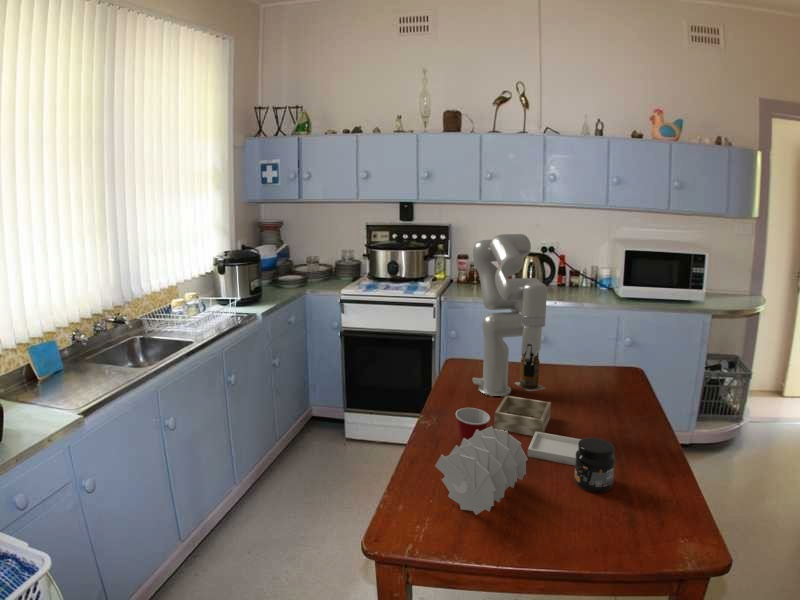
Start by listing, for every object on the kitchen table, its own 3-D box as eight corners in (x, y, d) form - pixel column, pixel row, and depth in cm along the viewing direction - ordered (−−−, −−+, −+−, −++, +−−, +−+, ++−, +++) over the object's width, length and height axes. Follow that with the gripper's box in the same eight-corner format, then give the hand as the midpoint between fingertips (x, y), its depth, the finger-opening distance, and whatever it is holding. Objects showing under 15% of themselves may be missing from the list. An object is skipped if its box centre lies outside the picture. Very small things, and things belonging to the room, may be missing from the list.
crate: (494, 429, 198) (494, 412, 197) (504, 410, 212) (505, 395, 211) (542, 437, 192) (543, 420, 191) (549, 418, 206) (550, 402, 205)
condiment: (532, 380, 200) (533, 346, 197) (546, 389, 192) (548, 354, 190) (513, 383, 198) (515, 349, 195) (527, 392, 190) (529, 356, 187)
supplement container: (573, 471, 171) (576, 434, 168) (611, 477, 168) (615, 439, 165) (573, 490, 161) (576, 451, 158) (613, 497, 158) (617, 456, 156)
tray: (527, 456, 180) (527, 449, 179) (535, 438, 192) (535, 431, 191) (588, 468, 173) (589, 460, 172) (592, 448, 185) (593, 441, 184)
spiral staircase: (515, 494, 167) (472, 535, 147) (467, 453, 174) (420, 486, 154) (546, 448, 159) (505, 484, 139) (494, 407, 167) (449, 436, 147)
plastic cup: (480, 461, 177) (481, 424, 174) (448, 452, 182) (449, 416, 180) (494, 447, 186) (496, 412, 183) (463, 438, 191) (464, 404, 188)
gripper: (527, 313, 200) (524, 363, 204) (516, 325, 184) (513, 379, 188) (549, 315, 197) (546, 366, 201) (540, 328, 181) (537, 383, 185)
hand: (530, 372), depth 195 cm, fingers closed on condiment, 6 cm apart
